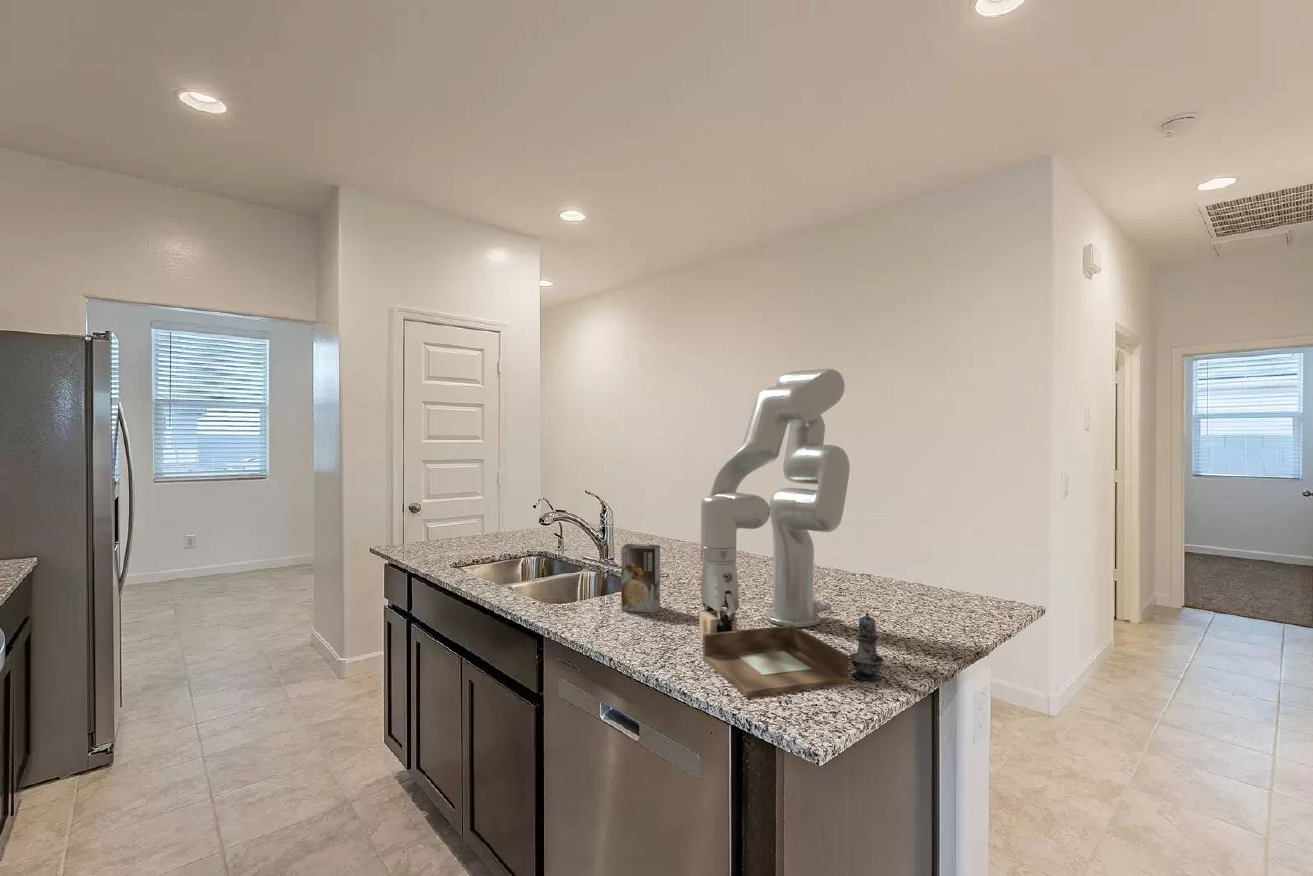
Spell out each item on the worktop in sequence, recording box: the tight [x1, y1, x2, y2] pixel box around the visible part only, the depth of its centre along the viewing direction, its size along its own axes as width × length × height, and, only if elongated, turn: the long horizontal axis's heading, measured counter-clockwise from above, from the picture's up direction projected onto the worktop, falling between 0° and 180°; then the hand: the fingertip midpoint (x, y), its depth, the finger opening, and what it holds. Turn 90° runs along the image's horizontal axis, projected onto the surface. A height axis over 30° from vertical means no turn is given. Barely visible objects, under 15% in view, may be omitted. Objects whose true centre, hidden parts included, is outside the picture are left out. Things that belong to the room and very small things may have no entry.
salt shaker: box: [849, 611, 885, 684], centre depth 115 cm, size 6×6×12 cm
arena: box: [702, 625, 849, 698], centre depth 118 cm, size 20×19×5 cm
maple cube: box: [698, 611, 738, 643], centre depth 134 cm, size 6×6×6 cm
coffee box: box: [620, 543, 661, 614], centre depth 160 cm, size 9×6×16 cm
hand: (717, 638), depth 134 cm, fingers closed on maple cube, 6 cm apart
